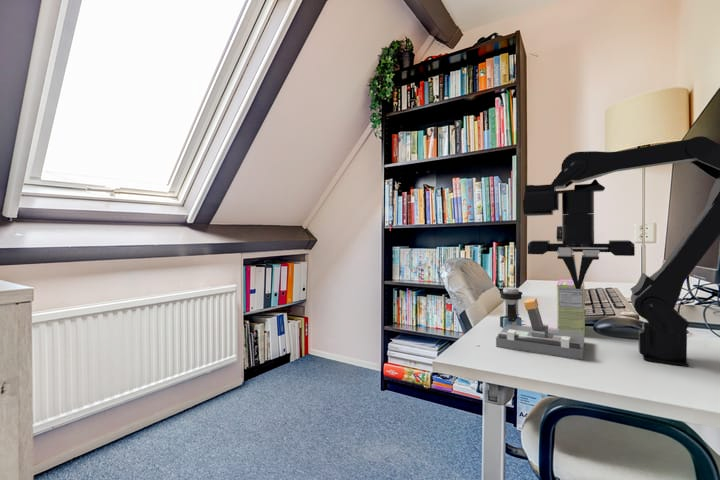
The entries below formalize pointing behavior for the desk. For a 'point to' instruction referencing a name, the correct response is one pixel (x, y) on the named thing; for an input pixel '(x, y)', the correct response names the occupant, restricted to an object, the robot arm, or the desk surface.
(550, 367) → the desk surface
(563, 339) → the breaker panel
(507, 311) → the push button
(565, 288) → the box
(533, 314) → the lever
